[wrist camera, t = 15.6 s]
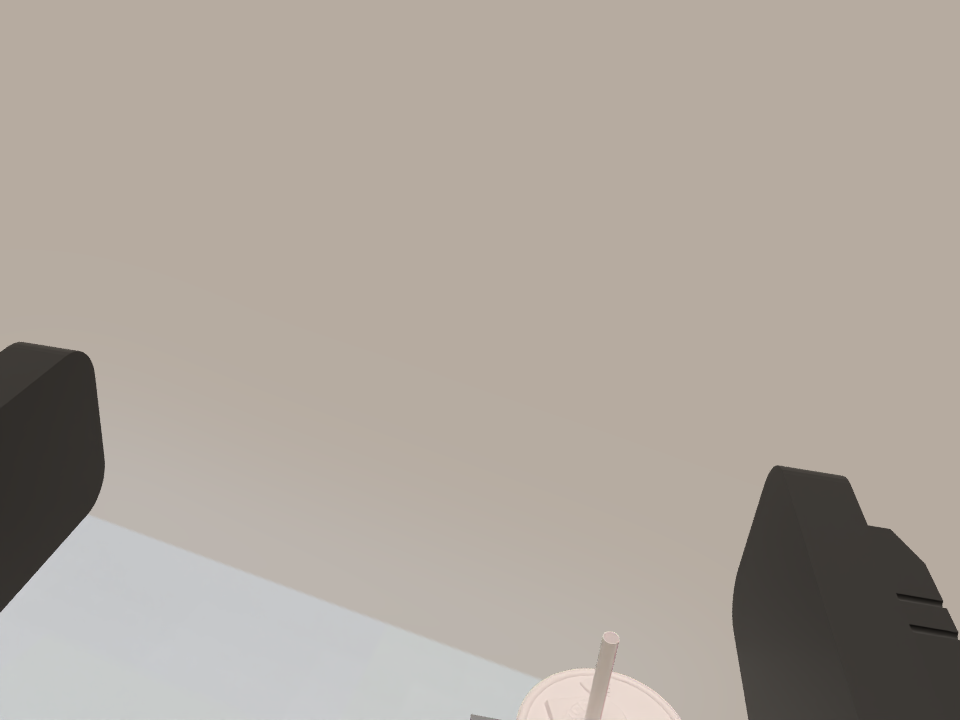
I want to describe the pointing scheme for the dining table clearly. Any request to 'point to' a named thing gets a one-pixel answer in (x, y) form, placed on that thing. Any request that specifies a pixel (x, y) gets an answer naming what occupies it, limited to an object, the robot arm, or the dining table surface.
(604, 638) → the smoothie
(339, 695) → the dining table surface
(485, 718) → the box
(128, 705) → the dining table surface
